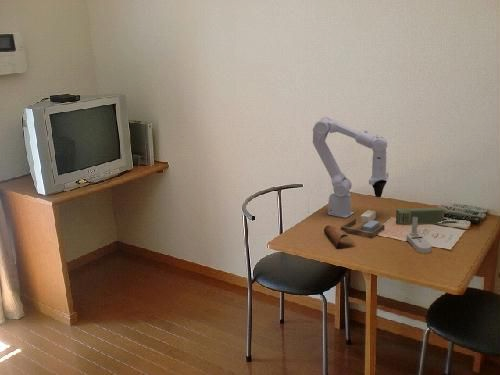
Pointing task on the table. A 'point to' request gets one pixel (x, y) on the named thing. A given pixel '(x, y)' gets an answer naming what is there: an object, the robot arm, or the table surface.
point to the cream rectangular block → (368, 216)
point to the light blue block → (371, 226)
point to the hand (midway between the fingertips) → (378, 196)
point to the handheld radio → (420, 215)
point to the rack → (360, 229)
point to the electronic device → (418, 239)
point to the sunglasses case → (339, 237)
